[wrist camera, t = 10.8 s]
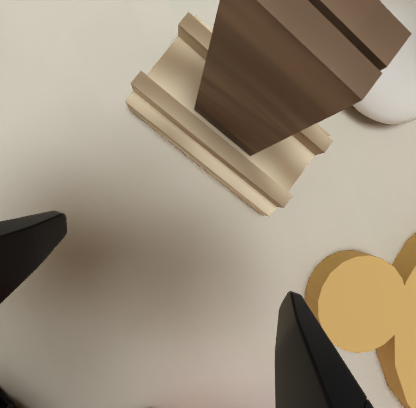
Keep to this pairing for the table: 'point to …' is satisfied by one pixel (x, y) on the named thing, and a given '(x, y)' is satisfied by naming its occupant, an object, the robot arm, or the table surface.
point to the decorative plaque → (371, 310)
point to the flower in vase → (396, 75)
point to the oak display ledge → (209, 135)
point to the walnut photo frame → (292, 64)
